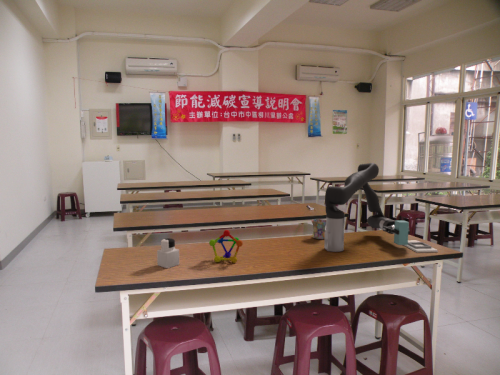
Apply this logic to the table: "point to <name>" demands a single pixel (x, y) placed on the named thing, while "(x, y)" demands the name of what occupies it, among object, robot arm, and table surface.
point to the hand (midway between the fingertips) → (403, 232)
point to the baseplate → (420, 246)
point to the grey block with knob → (168, 254)
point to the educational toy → (227, 254)
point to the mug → (318, 228)
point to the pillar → (401, 232)
